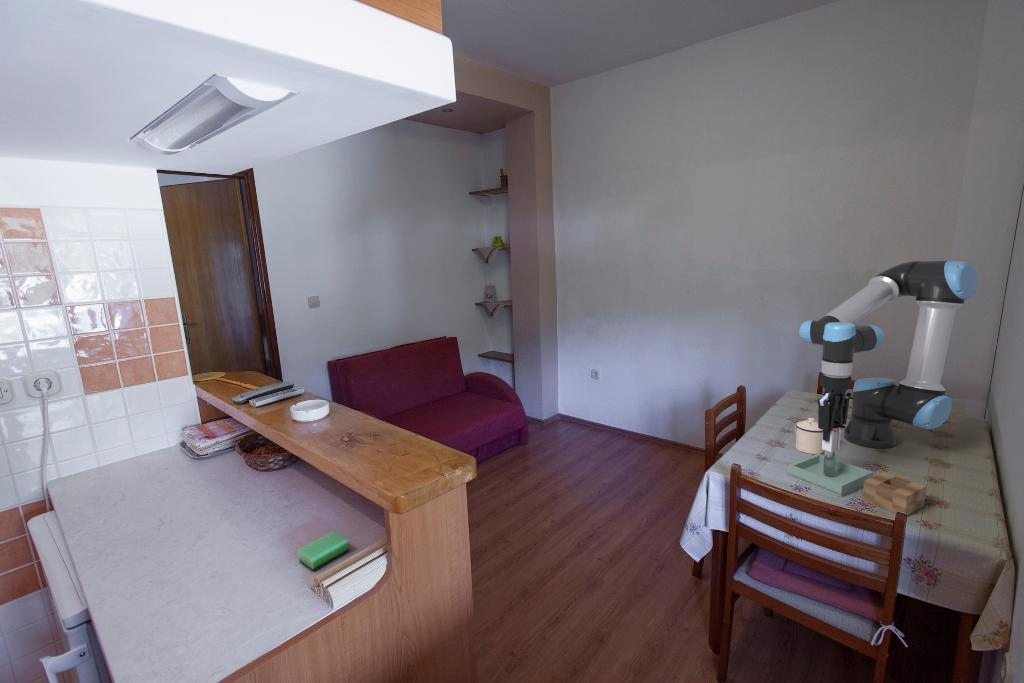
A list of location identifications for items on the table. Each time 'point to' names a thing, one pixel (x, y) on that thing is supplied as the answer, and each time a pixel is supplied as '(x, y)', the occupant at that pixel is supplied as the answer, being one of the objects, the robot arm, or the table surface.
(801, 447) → the teacup with lid
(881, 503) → the block
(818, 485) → the tray
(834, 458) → the pin
